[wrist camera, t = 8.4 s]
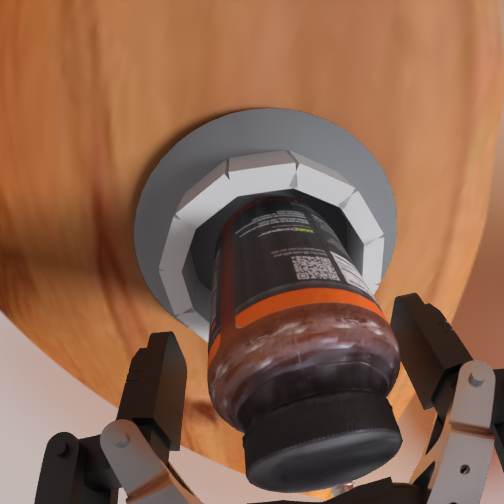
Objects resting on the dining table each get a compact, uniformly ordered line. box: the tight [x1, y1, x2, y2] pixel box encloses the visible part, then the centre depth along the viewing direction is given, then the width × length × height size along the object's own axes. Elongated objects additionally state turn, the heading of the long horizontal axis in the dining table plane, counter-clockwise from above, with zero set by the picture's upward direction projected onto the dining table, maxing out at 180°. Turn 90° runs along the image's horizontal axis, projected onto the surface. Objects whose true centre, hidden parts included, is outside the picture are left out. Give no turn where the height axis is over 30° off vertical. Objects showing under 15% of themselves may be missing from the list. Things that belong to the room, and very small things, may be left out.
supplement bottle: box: [208, 197, 403, 493], centre depth 11 cm, size 6×6×11 cm
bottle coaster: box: [134, 108, 397, 342], centre depth 15 cm, size 14×14×3 cm
